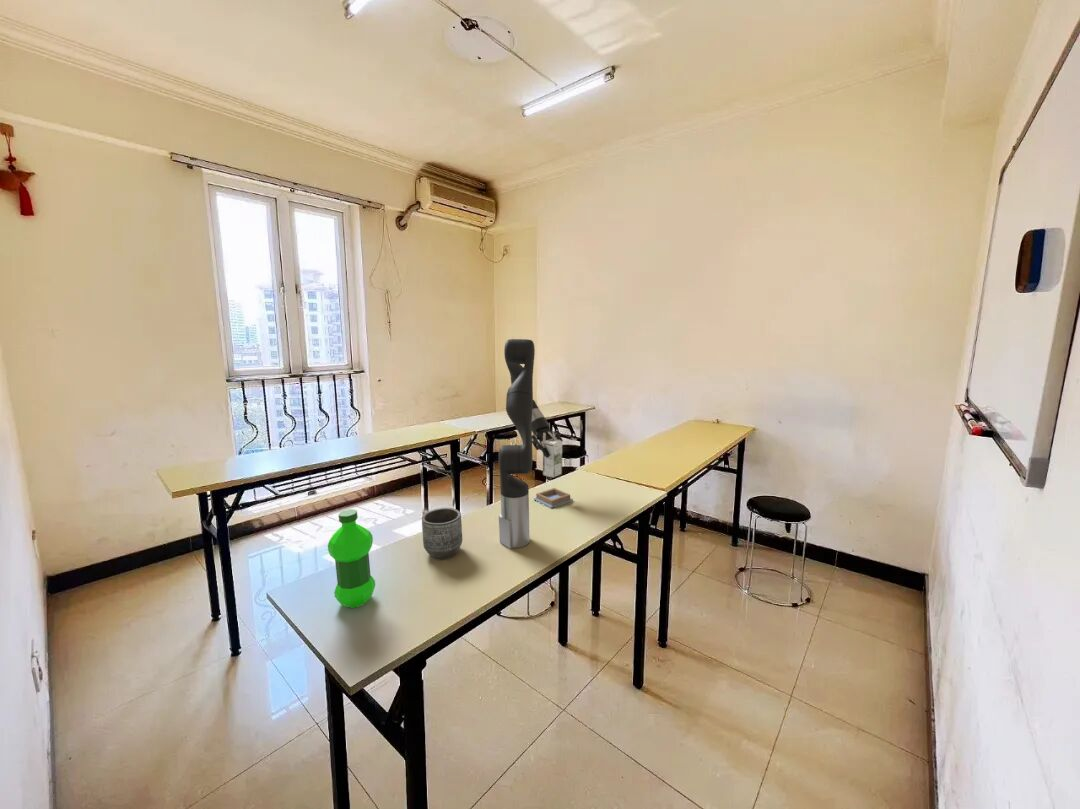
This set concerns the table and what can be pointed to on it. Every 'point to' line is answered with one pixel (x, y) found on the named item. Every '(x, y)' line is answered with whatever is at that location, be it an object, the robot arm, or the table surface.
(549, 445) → the syrup box
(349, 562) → the plastic bottle
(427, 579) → the table surface
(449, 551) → the planter
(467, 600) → the table surface
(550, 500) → the footing plate
